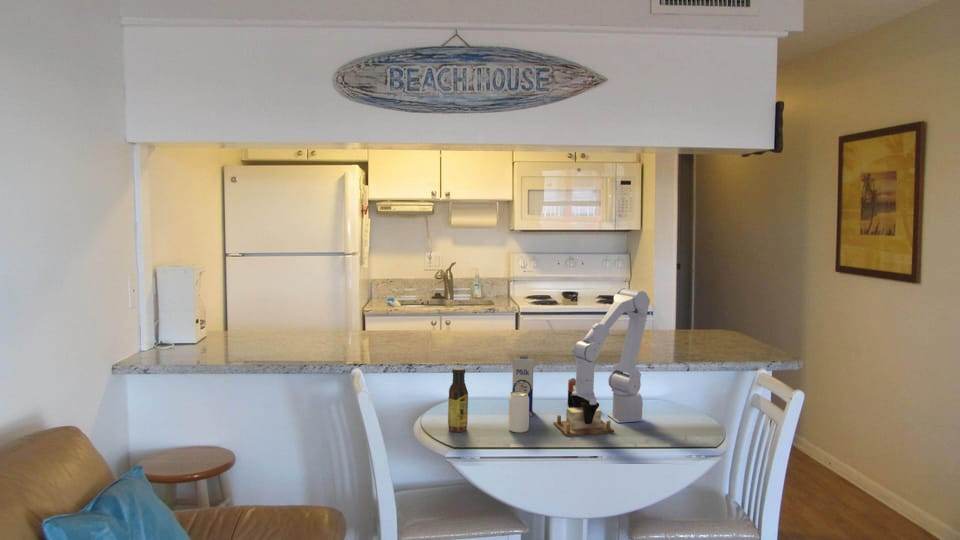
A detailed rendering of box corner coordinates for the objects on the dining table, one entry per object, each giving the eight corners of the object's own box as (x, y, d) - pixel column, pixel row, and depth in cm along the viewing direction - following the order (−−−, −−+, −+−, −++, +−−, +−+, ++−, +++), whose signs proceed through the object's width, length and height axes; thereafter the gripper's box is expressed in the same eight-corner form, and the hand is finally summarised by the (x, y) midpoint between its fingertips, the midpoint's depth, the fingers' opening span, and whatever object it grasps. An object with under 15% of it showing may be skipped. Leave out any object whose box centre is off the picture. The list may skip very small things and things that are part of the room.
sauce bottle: (463, 434, 194) (463, 372, 192) (444, 431, 196) (445, 370, 194) (470, 427, 200) (471, 367, 198) (452, 424, 202) (453, 365, 200)
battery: (587, 408, 221) (588, 380, 220) (568, 407, 222) (568, 379, 221) (586, 404, 225) (587, 377, 224) (567, 403, 226) (568, 376, 225)
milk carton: (511, 415, 211) (512, 358, 209) (512, 409, 218) (513, 353, 216) (532, 416, 211) (533, 359, 209) (532, 410, 217) (534, 354, 215)
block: (594, 422, 204) (595, 406, 203) (600, 427, 199) (601, 410, 199) (566, 424, 201) (566, 408, 201) (571, 429, 197) (571, 412, 197)
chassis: (599, 420, 208) (599, 411, 207) (614, 432, 197) (614, 422, 197) (553, 424, 204) (553, 414, 204) (565, 436, 193) (565, 426, 193)
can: (514, 434, 194) (515, 397, 193) (504, 428, 200) (505, 391, 199) (532, 431, 197) (533, 394, 196) (521, 425, 203) (522, 389, 202)
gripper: (564, 373, 205) (563, 413, 206) (582, 385, 191) (580, 428, 192) (584, 372, 207) (583, 411, 208) (603, 384, 192) (601, 426, 194)
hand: (583, 419), depth 200 cm, fingers open, 7 cm apart
